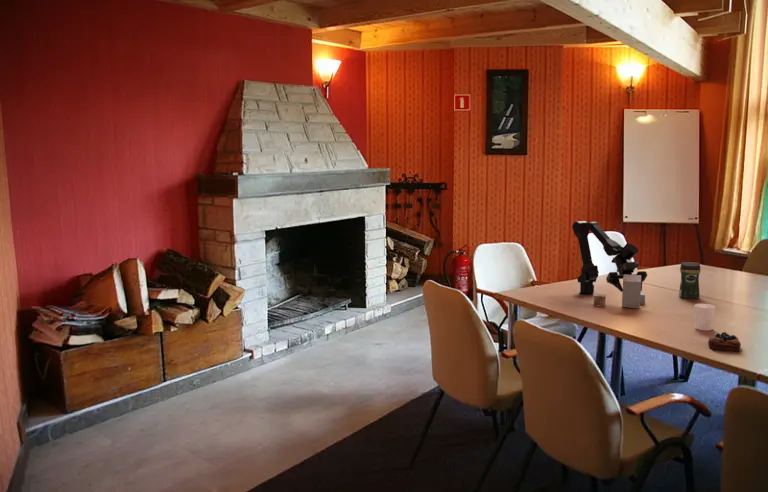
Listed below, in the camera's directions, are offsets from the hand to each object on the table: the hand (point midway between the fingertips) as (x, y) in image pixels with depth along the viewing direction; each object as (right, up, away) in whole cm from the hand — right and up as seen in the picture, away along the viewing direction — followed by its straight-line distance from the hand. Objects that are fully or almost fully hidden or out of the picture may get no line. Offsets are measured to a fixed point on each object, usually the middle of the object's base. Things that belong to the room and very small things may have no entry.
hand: (631, 291), depth 304 cm
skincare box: (0, -7, +3) cm, 8 cm away
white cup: (+17, -14, -36) cm, 42 cm away
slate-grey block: (+8, -7, +10) cm, 15 cm away
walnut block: (-13, -8, +9) cm, 17 cm away
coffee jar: (+38, -5, +21) cm, 44 cm away
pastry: (+11, -18, -62) cm, 65 cm away
